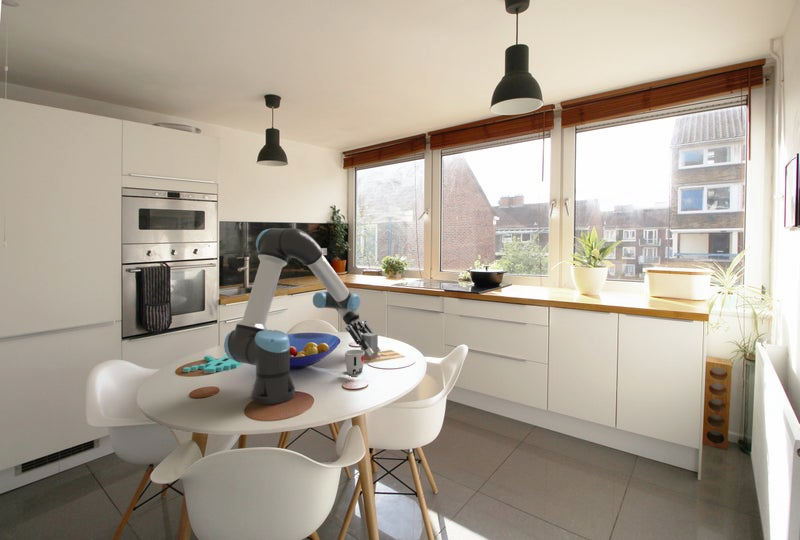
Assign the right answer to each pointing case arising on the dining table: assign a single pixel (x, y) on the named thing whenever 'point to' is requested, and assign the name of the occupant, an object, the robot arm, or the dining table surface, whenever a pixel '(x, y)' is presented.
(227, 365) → the alien figure
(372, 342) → the block
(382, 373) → the dining table surface
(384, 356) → the oak board
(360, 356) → the cup
